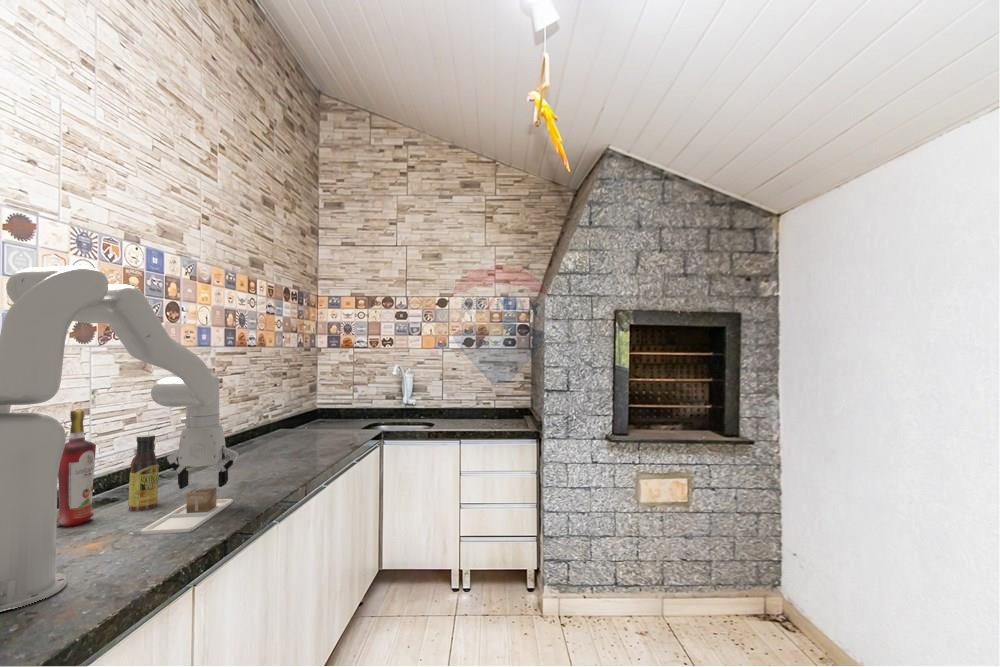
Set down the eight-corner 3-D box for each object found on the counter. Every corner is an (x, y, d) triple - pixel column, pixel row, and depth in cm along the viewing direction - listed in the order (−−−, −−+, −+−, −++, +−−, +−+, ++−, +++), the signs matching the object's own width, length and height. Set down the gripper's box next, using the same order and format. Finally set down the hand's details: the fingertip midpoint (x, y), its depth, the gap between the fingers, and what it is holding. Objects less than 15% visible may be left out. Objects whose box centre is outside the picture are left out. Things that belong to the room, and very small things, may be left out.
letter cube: (206, 512, 122) (206, 492, 122) (186, 513, 121) (186, 493, 121) (216, 506, 127) (216, 486, 127) (196, 506, 126) (196, 487, 126)
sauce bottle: (141, 514, 123) (142, 438, 123) (121, 513, 124) (123, 437, 125) (164, 506, 129) (165, 433, 130) (145, 505, 130) (146, 433, 131)
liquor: (78, 517, 122) (80, 408, 123) (102, 518, 120) (104, 408, 121) (46, 527, 114) (49, 412, 115) (71, 529, 113) (74, 412, 114)
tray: (190, 535, 108) (190, 528, 108) (138, 538, 107) (139, 531, 107) (233, 504, 130) (233, 498, 130) (191, 506, 129) (191, 500, 129)
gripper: (159, 425, 120) (159, 492, 120) (231, 422, 122) (231, 489, 122) (176, 420, 128) (176, 483, 127) (243, 418, 130) (243, 480, 129)
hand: (203, 486), depth 125 cm, fingers open, 9 cm apart
